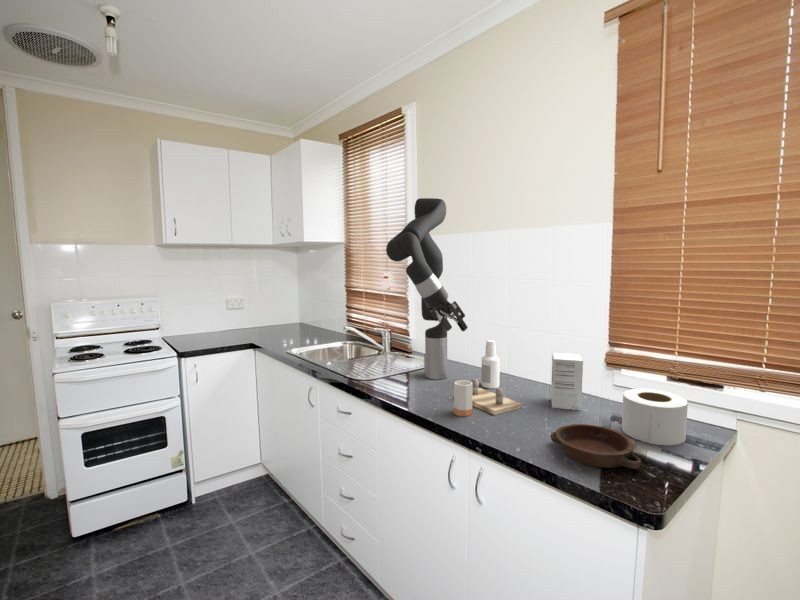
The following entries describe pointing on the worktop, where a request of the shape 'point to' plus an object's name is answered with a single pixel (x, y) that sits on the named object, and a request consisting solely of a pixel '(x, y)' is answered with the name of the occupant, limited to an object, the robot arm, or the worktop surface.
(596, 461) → the dish
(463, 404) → the sleeve
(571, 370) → the supplement box
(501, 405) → the pin board
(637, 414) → the white paper roll
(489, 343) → the spray bottle
